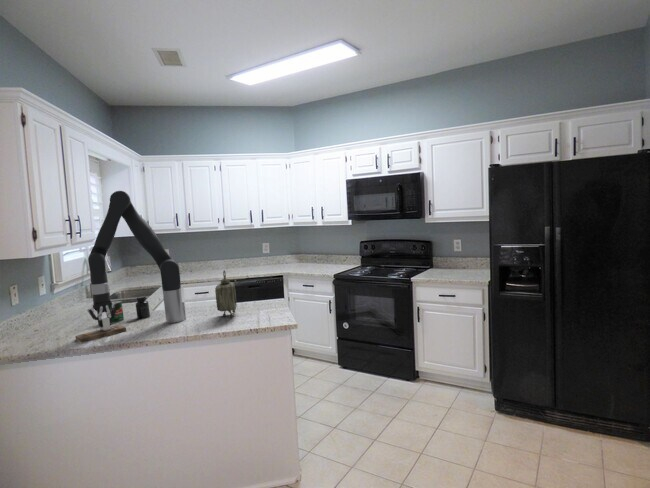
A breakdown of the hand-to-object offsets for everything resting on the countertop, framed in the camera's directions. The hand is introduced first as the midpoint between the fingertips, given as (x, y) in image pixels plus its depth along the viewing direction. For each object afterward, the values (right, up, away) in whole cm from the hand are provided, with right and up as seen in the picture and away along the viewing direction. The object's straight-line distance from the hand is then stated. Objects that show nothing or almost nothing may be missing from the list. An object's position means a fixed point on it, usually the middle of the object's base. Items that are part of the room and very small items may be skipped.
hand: (105, 325), depth 192 cm
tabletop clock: (+57, +2, +17) cm, 60 cm away
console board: (-1, -4, -1) cm, 5 cm away
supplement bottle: (+6, -1, +29) cm, 29 cm away
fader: (0, -2, 0) cm, 2 cm away
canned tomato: (-8, -3, +25) cm, 27 cm away
